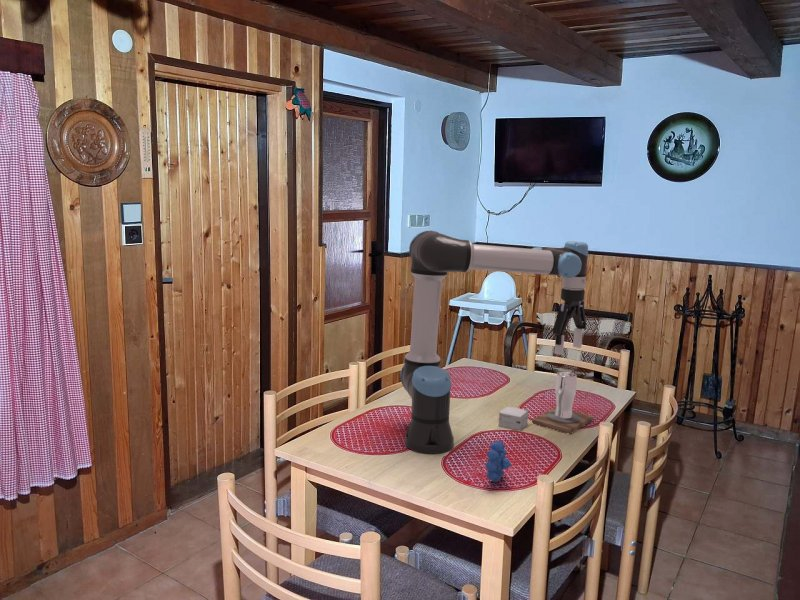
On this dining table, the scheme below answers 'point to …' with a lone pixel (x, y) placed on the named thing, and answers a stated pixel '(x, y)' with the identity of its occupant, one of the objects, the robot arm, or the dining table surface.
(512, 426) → the small box
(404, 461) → the dining table surface
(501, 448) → the grapes
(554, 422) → the walnut board
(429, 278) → the robot arm
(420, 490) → the dining table surface
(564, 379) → the beer glass
